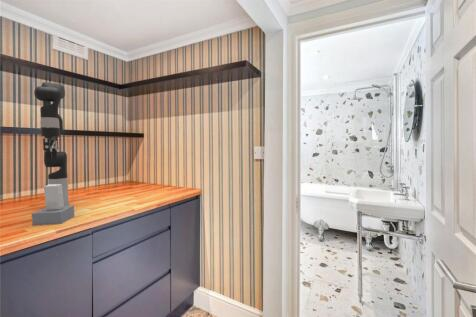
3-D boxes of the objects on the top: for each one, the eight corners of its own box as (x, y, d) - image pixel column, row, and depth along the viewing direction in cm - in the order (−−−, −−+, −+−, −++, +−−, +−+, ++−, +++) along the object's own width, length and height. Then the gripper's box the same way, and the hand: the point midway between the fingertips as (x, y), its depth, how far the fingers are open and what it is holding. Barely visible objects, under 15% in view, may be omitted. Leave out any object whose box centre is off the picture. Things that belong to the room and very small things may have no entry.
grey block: (48, 218, 120) (48, 206, 119) (74, 216, 122) (73, 205, 122) (32, 226, 108) (31, 213, 108) (61, 224, 110) (60, 212, 110)
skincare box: (64, 207, 117) (63, 183, 116) (59, 210, 113) (58, 185, 112) (50, 207, 116) (48, 183, 115) (45, 210, 112) (43, 186, 110)
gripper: (46, 127, 123) (47, 158, 124) (35, 125, 110) (37, 159, 111) (63, 128, 126) (64, 158, 127) (54, 126, 113) (56, 159, 114)
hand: (51, 158), depth 119 cm, fingers open, 8 cm apart
